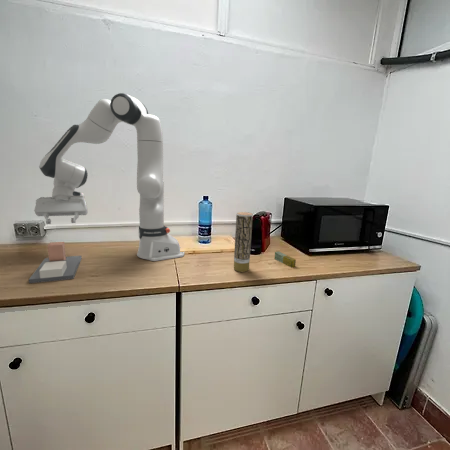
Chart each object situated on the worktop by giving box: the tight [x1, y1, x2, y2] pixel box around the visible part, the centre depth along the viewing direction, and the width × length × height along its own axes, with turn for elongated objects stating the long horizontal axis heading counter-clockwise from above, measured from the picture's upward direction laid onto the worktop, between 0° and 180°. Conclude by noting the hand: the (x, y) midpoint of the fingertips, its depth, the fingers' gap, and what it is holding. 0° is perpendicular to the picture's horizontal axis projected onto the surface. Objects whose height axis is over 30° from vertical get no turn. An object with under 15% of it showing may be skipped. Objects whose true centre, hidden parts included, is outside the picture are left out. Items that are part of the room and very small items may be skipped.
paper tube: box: [233, 211, 254, 273], centre depth 113 cm, size 7×7×25 cm
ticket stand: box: [28, 255, 82, 284], centre depth 107 cm, size 14×22×5 cm, turn 20°
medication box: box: [274, 251, 297, 269], centre depth 126 cm, size 12×3×4 cm, turn 30°
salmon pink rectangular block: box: [47, 241, 67, 261], centre depth 107 cm, size 5×4×9 cm
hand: (60, 222), depth 115 cm, fingers open, 8 cm apart
